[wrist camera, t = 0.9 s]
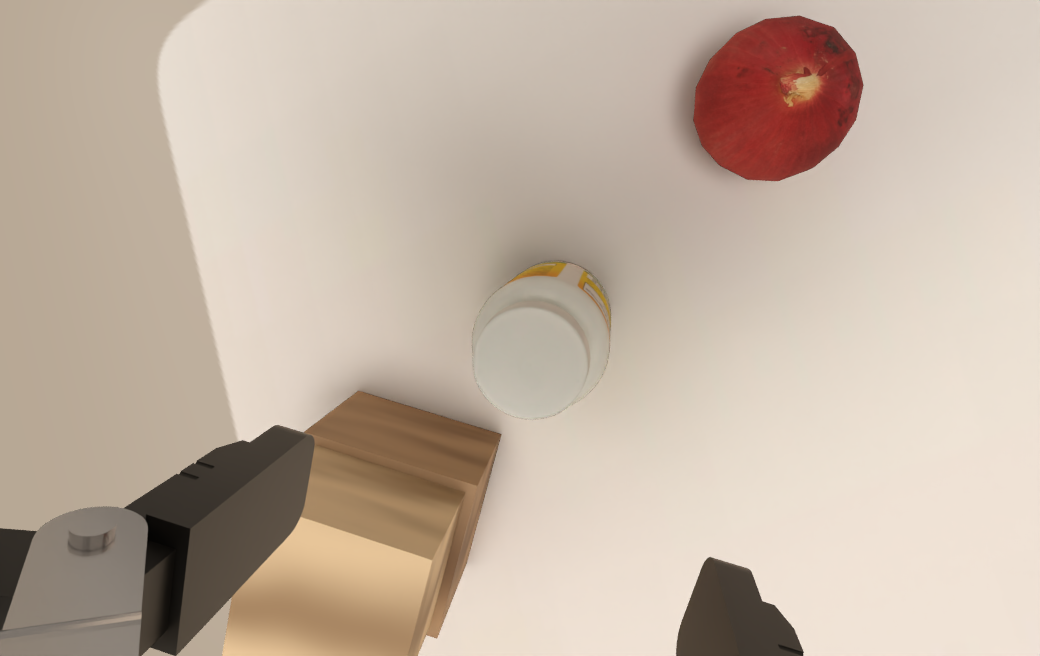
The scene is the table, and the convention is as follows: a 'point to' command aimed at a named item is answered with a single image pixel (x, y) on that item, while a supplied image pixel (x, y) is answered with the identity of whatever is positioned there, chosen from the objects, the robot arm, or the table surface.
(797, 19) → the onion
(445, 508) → the tower top
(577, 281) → the supplement bottle
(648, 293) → the table surface
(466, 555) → the tower base
